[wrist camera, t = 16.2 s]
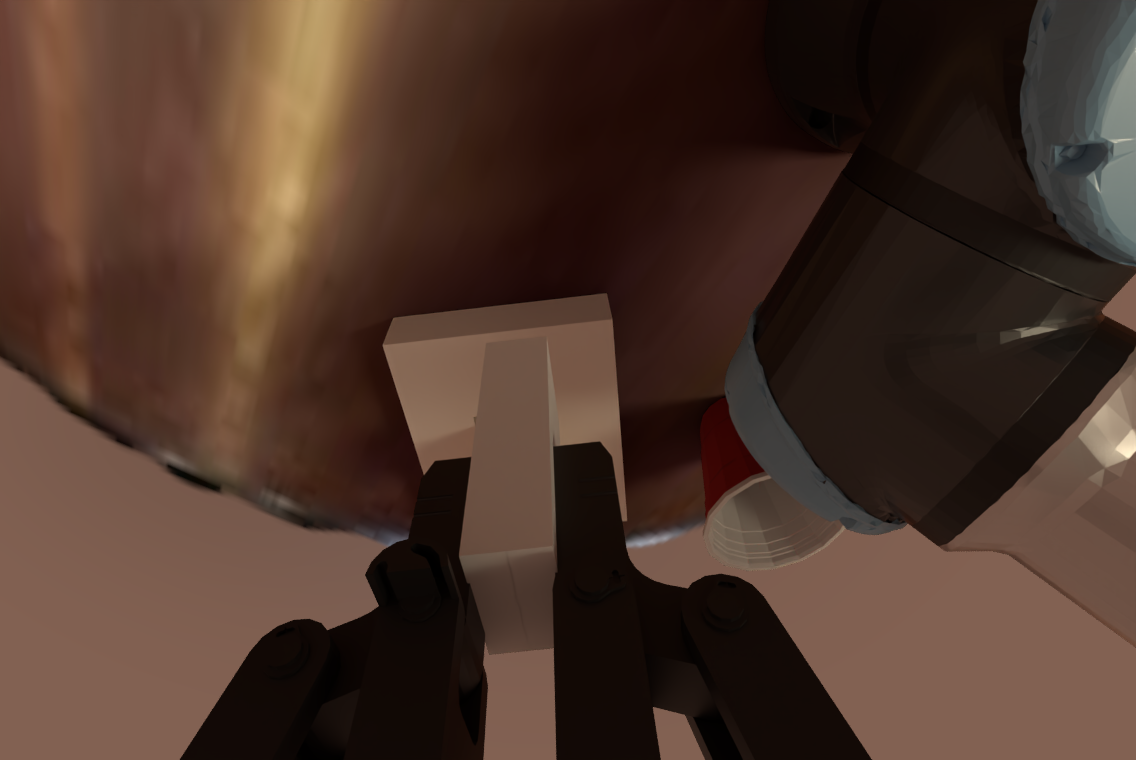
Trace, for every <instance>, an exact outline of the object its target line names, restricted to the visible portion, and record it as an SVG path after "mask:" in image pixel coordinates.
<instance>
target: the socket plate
mask: <svg viewBox="0 0 1136 760" xmlns="http://www.w3.org/2000/svg"><path fill="white" fill-rule="evenodd" d="M543 336H547V342H548V349H549V356H550V363H551V370H552V377H553V384H554V391H555V398H556V405H557V411H558V418H559V429H560V446H561V445H571V444H580V443H589V442H598V441H600V442H601V443H602V445H603V446H604V447H605V448H606V449H607V451H608V452H609V453H610V454H611V456H612V458H613V465H614V471H615V478H616V484H617V490H618V497H619V503H620V510H621V516H622V521H627V511H626V498H625V484H624V470H623V457H622V443H621V430H620V416H619V402H618V389H617V375H616V361H615V348H614V334H613V320H612V315H611V310H610V306H609V301H608V296H607V293H604V294H595V295H587V296H578V297H569V298H561V299H552V300H543V301H534V302H526V303H517V304H508V305H500V306H491V307H482V308H473V309H465V310H456V311H447V312H438V313H430V314H421V315H412V316H404V317H395V318H393V320H392V322H391V325H390V327H389V330H388V332H387V335H386V338H385V340H384V343H383V345H382V346H383V349H384V352H385V355H386V358H387V361H388V364H389V367H390V370H391V374H392V377H393V380H394V383H395V386H396V389H397V392H398V395H399V399H400V402H401V405H402V408H403V411H404V414H405V417H406V420H407V424H408V427H409V430H410V433H411V436H412V439H413V442H414V445H415V449H416V452H417V455H418V458H419V461H420V464H421V467H422V470H423V474H424V475H425V473H426V472H427V471H428V469H429V468H430V467H431V465H432V464H433V462H434V461H438V460H447V459H456V458H466V457H472V449H473V441H474V433H475V426H476V418H477V410H478V402H479V394H480V386H481V379H482V371H483V363H484V355H485V347H486V343H490V342H499V341H508V340H517V339H526V338H535V337H543Z"/></svg>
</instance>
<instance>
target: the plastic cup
mask: <svg viewBox="0 0 1136 760" xmlns="http://www.w3.org/2000/svg"><path fill="white" fill-rule="evenodd" d="M700 439H701V448H702V449H701V460H702V470H703V479H704V489H705V498H706V499H705V508H706V513H705V516H706V522H705V526H704V530H703V538H704V541H705V544H706V547H707V550H708V553H709V554H710V555H711V556H712V557H714V558H715V559H716V560H718V561H719V562H720V563H722V564H723V565H724V566H728V567H733V568H737V569H742V570H746V571H751V570H752V571H753V570H770V569H776V568H780V567H783V566H786V565H790V564H793V563H797V562H800V561H802V560H804V559H806V558H808V557H810V556H811V555H813V554H815V553H817V552H819V551H820V550H822V549H824V548H826V547H827V546H828V545H829V544H830V543H831V542H832V541H833V540H834V539H835V538H836V537H837V536H838V535H839V534H841V533H842V531H844V530H845V527H844V526H843V525H842V523H841V522H840V521H839V520H836V521H832V522H830V521H827V520H825V519H823V518H822V517H820V516H818V515H817V514H815V513H813V512H812V511H810V510H809V509H807V508H806V507H805V506H803V505H802V504H800V503H799V502H798V501H796V500H795V499H794V498H793V497H792V496H790V495H789V494H788V493H787V492H785V491H784V490H783V489H782V488H781V487H780V486H779V485H778V484H777V483H776V482H775V481H774V480H773V479H772V478H771V477H770V476H769V475H768V474H767V473H766V472H765V471H764V469H763V468H762V467H761V466H760V465H759V464H758V462H757V461H756V460H755V459H754V457H753V456H752V455H751V453H750V452H749V450H748V449H747V448H746V446H745V444H744V443H743V441H742V440H741V438H740V436H739V434H738V432H737V430H736V428H735V426H734V424H733V422H732V420H731V417H730V414H729V404H728V402H727V399H726V397H725V398H722V399H720V400H718V401H717V402H715V403H714V404H712V405H711V406H709V408H708V409H707V411H706V412H705V413H704V415H703V416H702V421H701V426H700Z"/></svg>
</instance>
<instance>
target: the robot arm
mask: <svg viewBox="0 0 1136 760" xmlns="http://www.w3.org/2000/svg"><path fill="white" fill-rule="evenodd" d="M765 55H766V63H767V69H768V73H769V77H770V81H771V84H772V87H773V89H774V92H775V94H776V96H777V98H778V100H779V102H780V104H781V105H782V107H783V108H784V110H785V111H786V113H787V114H788V115H789V116H790V118H791V119H792V120H793V121H794V122H795V123H796V124H797V125H798V126H799V127H801V128H802V129H803V130H804V131H806V132H807V133H809V134H810V135H812V136H813V137H815V138H816V139H818V140H820V141H821V142H823V143H825V144H827V145H829V146H831V147H833V148H836V149H838V150H841V151H845V152H849V153H853V155H852V157H851V158H850V160H849V162H848V163H847V165H846V167H845V168H844V169H843V171H842V172H841V173H840V175H839V177H838V178H837V180H836V182H835V183H834V185H833V187H832V188H831V190H830V192H829V193H828V195H827V197H826V198H825V200H824V202H823V203H822V205H821V207H820V208H819V210H818V212H817V213H816V215H815V217H814V218H813V220H812V222H811V223H810V225H809V227H808V228H807V230H806V232H805V233H804V235H803V237H802V239H801V240H800V242H799V244H798V245H797V247H796V249H795V250H794V252H793V254H792V255H791V257H790V259H789V260H788V262H787V264H786V265H785V267H784V269H783V270H782V272H781V274H780V275H779V277H778V279H777V280H776V282H775V284H774V285H773V287H772V288H771V290H770V292H769V293H768V295H767V296H766V298H765V300H764V301H762V302H760V303H759V304H758V306H757V307H756V308H755V310H754V312H753V313H752V315H751V316H750V319H749V323H748V328H747V331H746V333H745V335H744V337H743V339H742V341H741V343H740V345H739V347H738V349H737V351H736V353H735V354H734V356H733V358H732V360H731V362H730V364H729V367H728V369H727V373H726V378H725V394H726V399H727V402H728V404H729V414H730V417H731V420H732V422H733V424H734V426H735V428H736V430H737V432H738V434H739V436H740V438H741V440H742V441H743V443H744V444H745V446H746V448H747V449H748V450H749V452H750V453H751V455H752V456H753V457H754V459H755V460H756V461H757V462H758V464H759V465H760V466H761V467H762V468H763V469H764V471H765V472H766V473H767V474H768V475H769V476H770V477H771V478H772V479H773V480H774V481H775V482H776V483H777V484H778V485H779V486H780V487H781V488H782V489H783V490H784V491H785V492H787V493H788V494H789V495H790V496H792V497H793V498H794V499H795V500H796V501H798V502H799V503H800V504H802V505H803V506H805V507H806V508H807V509H809V510H810V511H812V512H813V513H815V514H817V515H818V516H820V517H822V518H823V519H825V520H827V521H830V522H832V521H836V520H839V521H840V522H841V523H842V525H843V526H844V527H845V528H846V529H847V530H851V531H854V532H857V533H861V534H867V535H879V534H884V533H888V532H891V531H893V530H898V529H901V528H903V527H905V526H906V525H907V524H909V525H911V526H912V527H913V528H915V529H916V530H917V531H919V532H920V533H921V534H923V535H924V536H926V537H927V538H928V539H929V540H931V541H932V542H933V543H935V544H936V545H937V546H939V547H940V548H941V549H943V550H944V551H947V552H948V551H949V552H952V551H993V552H998V553H1003V554H1007V555H1009V556H1011V557H1012V558H1013V559H1015V560H1016V561H1018V562H1019V563H1020V564H1022V565H1023V566H1024V567H1026V568H1027V569H1028V570H1030V571H1031V572H1033V573H1034V574H1035V575H1037V576H1038V577H1039V578H1041V579H1042V580H1044V581H1045V582H1046V583H1048V584H1049V585H1050V586H1052V587H1053V588H1055V589H1056V590H1057V591H1059V592H1060V593H1061V594H1063V595H1064V596H1066V597H1067V598H1068V599H1070V600H1071V601H1072V602H1074V603H1075V604H1077V605H1078V606H1079V607H1081V608H1082V609H1083V610H1085V611H1086V612H1087V613H1089V614H1090V615H1092V616H1093V617H1094V618H1096V619H1097V620H1099V621H1100V622H1101V623H1103V624H1104V625H1105V626H1107V627H1108V628H1109V629H1111V630H1112V631H1114V632H1115V633H1116V634H1118V635H1119V636H1120V637H1122V638H1123V639H1125V640H1126V641H1127V642H1129V643H1130V644H1132V645H1133V646H1134V647H1135V648H1136V332H1135V331H1133V330H1132V329H1130V328H1128V327H1126V326H1124V325H1122V324H1120V323H1118V322H1116V321H1114V320H1112V319H1110V318H1109V317H1107V316H1105V315H1103V313H1102V310H1103V308H1104V307H1105V306H1106V305H1107V304H1108V303H1109V301H1111V299H1112V298H1113V297H1114V296H1115V295H1116V294H1117V293H1118V292H1119V291H1120V290H1121V289H1122V287H1123V286H1124V285H1125V284H1126V283H1127V282H1128V281H1129V280H1130V279H1131V278H1132V277H1133V276H1134V275H1135V274H1136V0H770V1H769V6H768V11H767V17H766V26H765ZM365 576H366V578H367V580H368V582H369V584H370V587H371V589H372V591H373V594H374V595H375V598H376V600H377V602H378V605H379V606H378V607H377V608H376V609H374V610H373V611H372V612H370V613H368V614H366V615H364V616H362V617H360V618H358V619H355V620H353V621H350V622H347V623H345V624H342V625H340V626H337V627H335V628H332V629H330V630H326V628H325V627H324V626H323V625H322V623H319V622H317V621H313V620H311V619H301V620H293V621H290V622H287V623H285V624H282V625H280V626H277V627H276V628H275V629H273V630H272V631H270V632H269V633H268V634H266V635H265V636H263V637H262V638H261V640H260V641H259V642H258V643H257V644H256V645H255V646H254V647H253V649H252V650H251V651H250V652H249V654H248V656H247V657H246V659H245V660H244V662H243V663H242V665H241V666H240V668H239V669H238V671H237V673H236V674H235V676H234V677H233V679H232V680H231V682H230V683H229V685H228V686H227V688H226V689H225V691H224V693H223V694H222V695H221V697H220V699H219V700H218V702H217V703H216V705H215V706H214V708H213V709H212V711H211V712H210V714H209V716H208V717H207V719H206V720H205V722H204V723H203V725H202V726H201V728H200V729H199V731H198V732H197V734H196V736H195V737H194V738H193V740H192V742H191V743H190V745H189V746H188V748H187V749H186V751H185V752H184V754H183V755H182V757H181V758H180V760H483V756H484V740H485V723H486V708H487V692H488V684H487V677H486V672H485V669H484V666H483V659H484V645H485V643H486V646H487V649H488V652H489V654H490V655H491V654H501V653H511V652H520V651H530V650H540V649H550V648H554V675H555V713H556V714H555V717H556V755H557V756H556V757H557V758H556V759H557V760H661V758H660V752H659V745H658V739H657V732H656V726H655V719H654V713H653V707H656V708H660V709H664V710H668V711H672V712H676V713H680V714H684V715H685V716H686V718H687V720H688V722H689V725H690V727H691V729H692V731H693V734H694V736H695V738H696V740H697V743H698V745H699V747H700V749H701V751H702V754H703V756H704V758H705V760H872V759H871V758H870V756H869V755H868V753H867V752H866V750H865V749H864V747H863V746H862V744H861V743H860V741H859V740H858V738H857V737H856V735H855V734H854V732H853V731H852V729H851V727H850V726H849V724H848V723H847V721H846V720H845V719H844V717H843V715H842V714H841V712H840V711H839V709H838V708H837V706H836V705H835V703H834V702H833V700H832V699H831V698H830V696H829V694H828V693H827V691H826V690H825V689H824V687H823V685H822V684H821V682H820V681H819V679H818V678H817V676H816V675H815V673H814V672H813V670H812V669H811V667H810V666H809V664H808V663H807V661H806V660H805V658H804V657H803V655H802V653H801V652H800V650H799V649H798V648H797V646H796V644H795V643H794V641H793V640H792V638H791V637H790V635H789V634H788V633H787V631H786V629H785V628H784V626H783V625H782V623H781V622H780V620H779V619H778V617H777V616H776V614H775V613H774V611H773V610H772V608H771V607H770V605H769V604H768V602H767V601H766V599H765V598H764V596H763V595H762V594H761V593H760V592H759V591H758V590H757V589H756V588H755V587H754V586H753V585H752V584H750V583H748V582H746V581H744V580H743V579H741V578H739V577H735V576H730V575H724V574H716V575H709V576H704V577H702V578H701V579H699V580H697V581H695V582H693V583H692V584H691V585H690V587H689V588H688V589H687V588H682V587H677V586H671V585H666V584H663V583H660V582H656V581H654V580H651V579H650V578H648V577H646V576H644V575H643V574H642V573H641V572H640V571H639V570H637V569H636V568H635V566H634V565H633V563H632V562H631V561H630V559H629V556H628V552H627V549H626V542H625V536H624V529H623V523H622V516H621V510H620V503H619V497H618V490H617V484H616V478H615V471H614V465H613V458H612V456H611V454H610V453H609V452H608V451H607V449H606V448H605V447H604V446H603V445H602V443H601V442H600V441H598V442H589V443H580V444H571V445H561V446H560V429H559V418H558V411H557V405H556V398H555V391H554V384H553V377H552V370H551V363H550V356H549V349H548V342H547V336H543V337H535V338H526V339H517V340H508V341H499V342H490V343H486V347H485V355H484V363H483V371H482V379H481V386H480V394H479V402H478V410H477V418H476V426H475V433H474V441H473V449H472V457H466V458H456V459H447V460H438V461H434V462H433V464H432V465H431V467H430V468H429V469H428V471H427V472H426V473H425V475H424V476H423V477H422V479H421V483H420V487H419V492H418V496H417V502H416V506H415V510H414V518H413V519H412V524H411V528H410V533H409V538H408V539H407V540H403V541H399V542H396V543H395V544H393V545H391V546H389V547H388V548H386V549H384V550H383V551H382V552H381V553H380V554H379V555H378V556H377V557H376V558H375V559H374V560H373V561H372V562H371V564H370V566H369V568H368V570H367V572H366V574H365Z"/></svg>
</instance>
